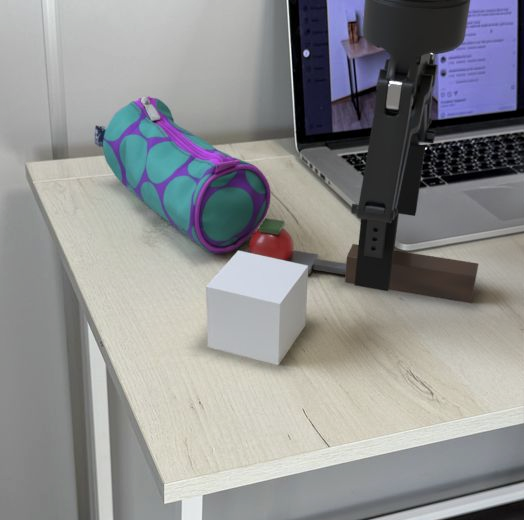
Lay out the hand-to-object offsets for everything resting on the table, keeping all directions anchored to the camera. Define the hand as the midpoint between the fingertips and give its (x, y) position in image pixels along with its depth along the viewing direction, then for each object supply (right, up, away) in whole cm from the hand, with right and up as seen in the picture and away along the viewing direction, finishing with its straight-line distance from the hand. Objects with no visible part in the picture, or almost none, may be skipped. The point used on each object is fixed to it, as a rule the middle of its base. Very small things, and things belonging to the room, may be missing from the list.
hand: (387, 246), depth 76 cm
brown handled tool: (-2, -3, +3) cm, 5 cm away
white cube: (-11, -8, -5) cm, 15 cm away
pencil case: (-19, +5, +13) cm, 23 cm away
